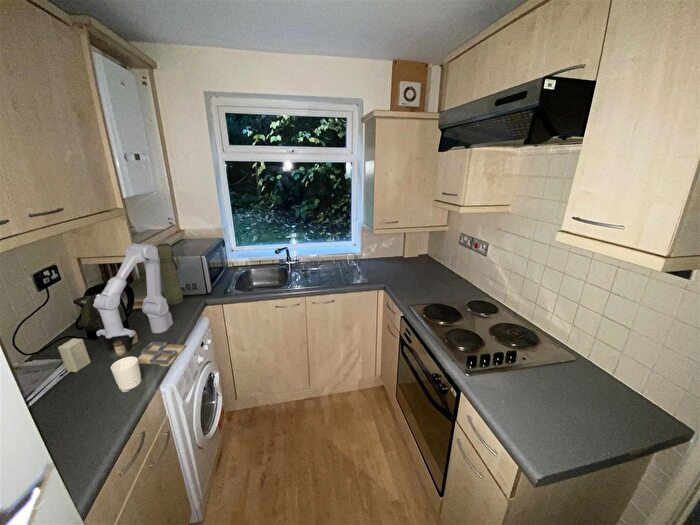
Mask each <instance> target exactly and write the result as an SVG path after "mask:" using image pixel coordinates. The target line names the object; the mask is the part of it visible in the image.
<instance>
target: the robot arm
mask: <svg viewBox="0 0 700 525" xmlns="http://www.w3.org/2000/svg"><path fill="white" fill-rule="evenodd" d="M121 263H122V264H121V266H120V267H119V269H118V272H117V274H116V275H115V276H113V277H110V278H109V280H108V281H107V283H106V285H105V287H104V289H103V290H102V292H101V293H100V294H99V295H97V296H96V297H95V299H94V301H93V302H94V303H93V304H92V305H93V307H94V308H95V309H97V311H98V312H99V314H100V315H99V316H100V318H101V321H102V324H103V327H104V328H103V329H99V330H97V331H96V332H95V333H96V336H97V337H98V338H97V341H99V342H100V343H101V344H102V345H103V346H105V348H106V349H107V350H108V351H109V352H112V351H114V350H115V348H114V345H113V342H114V337H122V338H119V340H120V341H121V342H122V343H123V344H124V346H125V349H126V351H127V352H129V351H130V350H131V349H132V342H133V338H134V336H135V332H134V329H133V330H132V329H128V328H125V327H124V325H123V320H122V318H121V315H120V311H119V308H118V307H119V305H120V303H121V295H122V293H123V291H124V289H125V288H126V286H127V283H128V282H127V280H126V279H127V278H128V277H129V275H130V273H131V272H132V271H133V269H134V268H135V267H136V265H137V264H139V263H144V264H145V276H146V294H147V295H146V297H145V298H144V299H143V300H142V301H143V302H142V306H141V310H142V312H143V314H146V316H147V317H148V321H149V326H150V329H151V332H152V333H153V334H161V333H163V332H166V331H168V330H169V328H170V327H171V326H172V325H174V323H173V317H172V313H171V312H170V311H169V305H168V304H167V300H166V299H165V296H163V295H162V284H161V283H162V278H161V276H160V259H159V256H158V249H157V246H154V244H146V243H145V244H143V243H135V242H133V243H130V244H129V245H128V246H127V249H126V250H125V257H124V259H123V261H122V262H121Z"/></svg>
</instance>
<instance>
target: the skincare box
mask: <svg viewBox="0 0 700 525" xmlns="http://www.w3.org/2000/svg"><path fill="white" fill-rule="evenodd" d="M57 348H58V349H57V350H58V352H59V354H60V357H61V359H62V362H63V365H64V366H65V370H66V371H67V372H73V373H77V372H78V371H80V370H82V369H83V368H84V367H86V366H87V365H89V364H91V361H92V360H91V359H90V356H89V354H88V351H87V348H86V345H85V342H84V339H83V338H74V337H73V338H72V339H70V340H68V341H67V342H64V343H62V345H60V346H57Z"/></svg>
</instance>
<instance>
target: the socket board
mask: <svg viewBox="0 0 700 525" xmlns="http://www.w3.org/2000/svg"><path fill="white" fill-rule="evenodd" d="M186 348H187V345H186V344H172V343H170V344H168V342H167V341H166V342H165V341H150V343H149V344H148V345H147V346H145V347H144V348H143V349H142V350H141V351H140V353H141V355H139V356H138V357H136V358H137V359H138V363H139V364H143V365H144V364H149V365H150V364H151V365H158V367H170V365H171V364H172V363H173V362H174V361H175V360H176V359H177V358H178V357H179V355H181V354H182V353H183V351H184V350H185V349H186Z"/></svg>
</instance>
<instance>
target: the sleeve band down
mask: <svg viewBox="0 0 700 525" xmlns="http://www.w3.org/2000/svg"><path fill="white" fill-rule="evenodd" d="M133 330H134V329H133ZM134 332H135V336H134V338H133V342H132V346H136V345H138V344H139V341H140V340H139V339H138V334H137V332H136V330H134Z"/></svg>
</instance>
